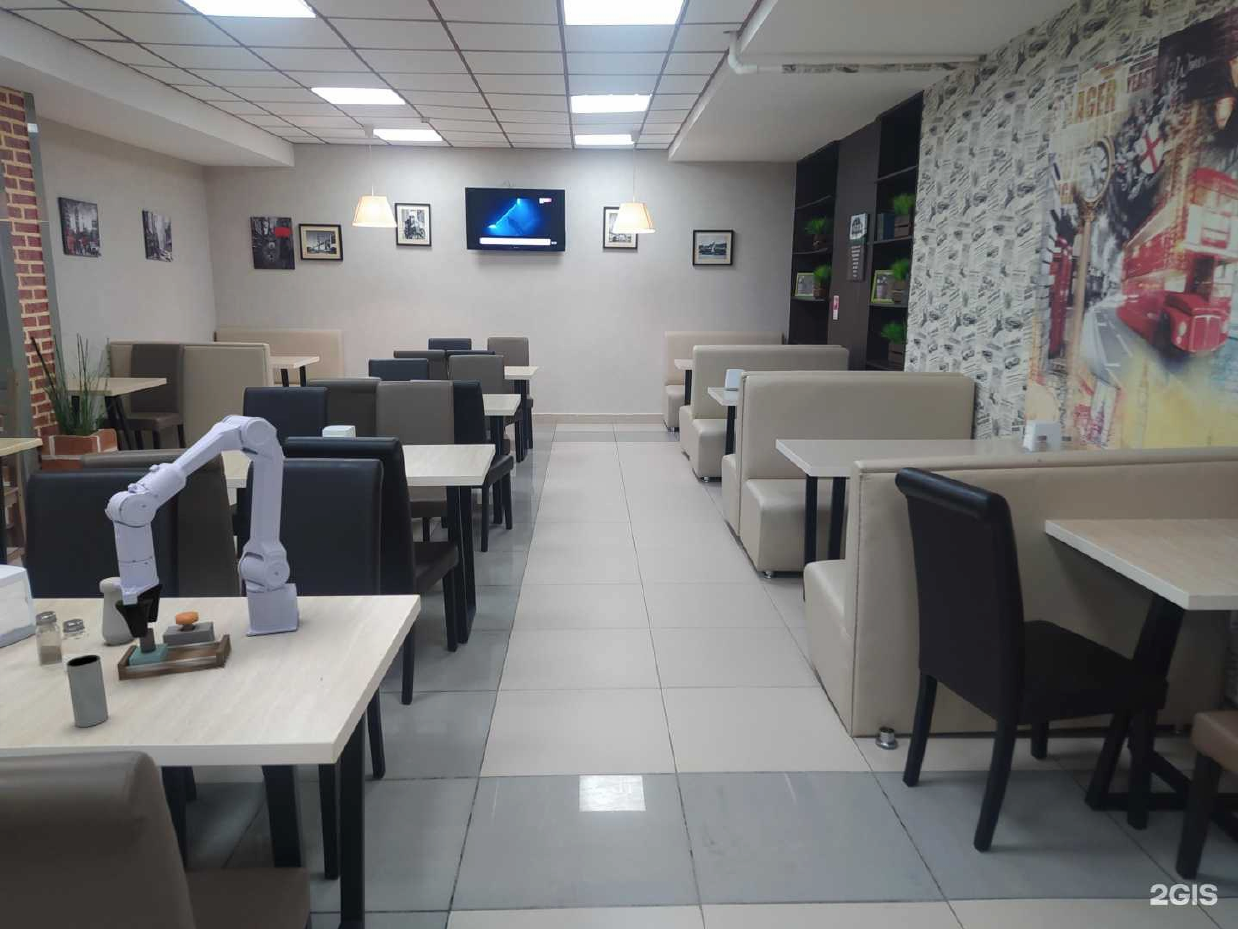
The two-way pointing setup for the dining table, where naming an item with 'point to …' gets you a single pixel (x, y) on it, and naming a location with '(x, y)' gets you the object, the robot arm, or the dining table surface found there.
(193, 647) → the rail board
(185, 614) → the button
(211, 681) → the dining table surface
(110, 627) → the salt shaker
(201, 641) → the grey rectangular block
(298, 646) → the dining table surface
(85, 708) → the planter
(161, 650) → the blue block with peg
